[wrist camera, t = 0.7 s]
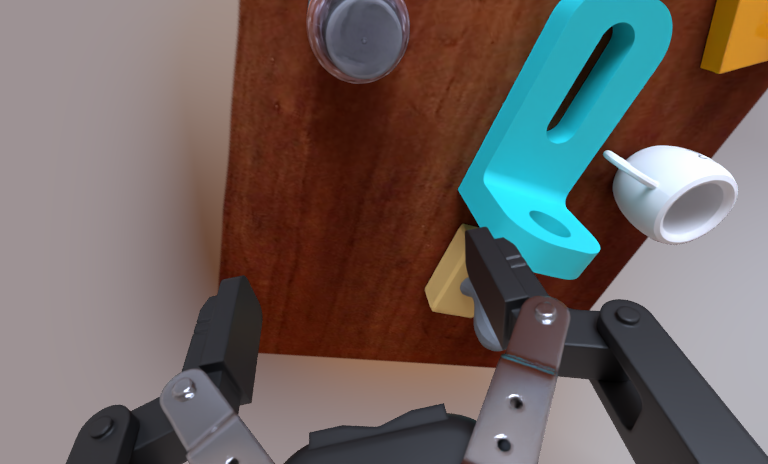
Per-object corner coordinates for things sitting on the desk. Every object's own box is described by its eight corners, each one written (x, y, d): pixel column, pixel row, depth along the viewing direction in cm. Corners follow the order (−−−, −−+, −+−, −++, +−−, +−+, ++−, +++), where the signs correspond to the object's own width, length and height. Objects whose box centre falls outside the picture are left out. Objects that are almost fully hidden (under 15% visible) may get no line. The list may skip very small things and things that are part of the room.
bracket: (533, 210, 43) (595, 286, 33) (457, 189, 40) (502, 265, 30) (665, 13, 33) (808, 41, 23) (577, -36, 30) (700, -26, 20)
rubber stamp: (464, 296, 49) (500, 382, 40) (422, 289, 47) (450, 376, 38) (504, 234, 44) (558, 314, 34) (460, 222, 42) (502, 304, 33)
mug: (695, 154, 41) (764, 192, 35) (633, 216, 45) (684, 260, 39) (623, 103, 37) (686, 136, 31) (560, 177, 41) (605, 220, 34)
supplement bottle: (387, 55, 31) (417, 99, 22) (311, 55, 31) (310, 102, 22) (389, -36, 28) (426, -27, 19) (304, -38, 27) (299, -29, 18)
